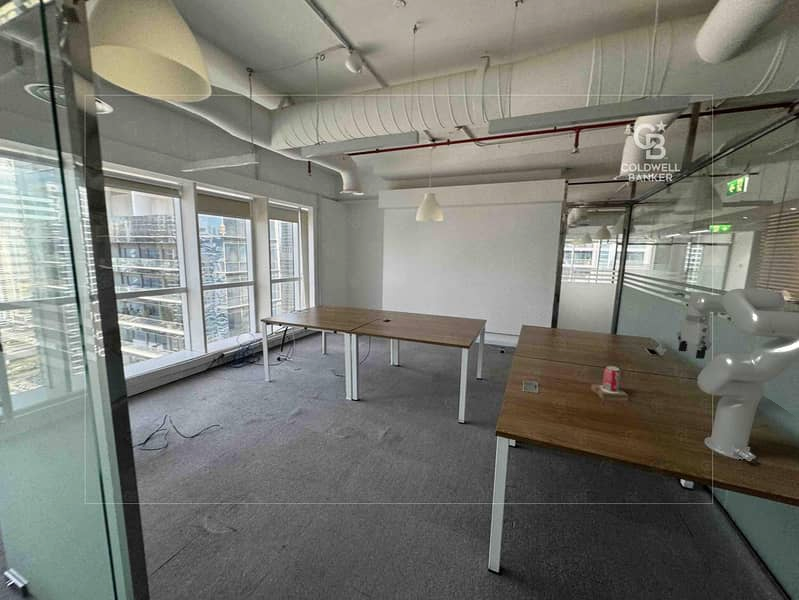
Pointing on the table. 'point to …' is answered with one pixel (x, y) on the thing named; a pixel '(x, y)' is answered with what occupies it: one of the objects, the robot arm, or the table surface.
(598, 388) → the base
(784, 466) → the table surface
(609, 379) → the soda can
